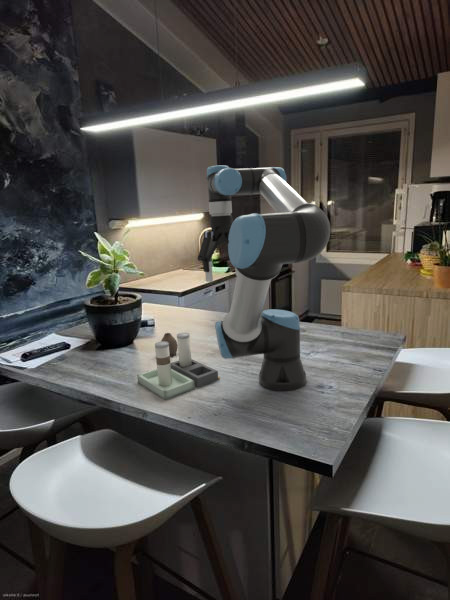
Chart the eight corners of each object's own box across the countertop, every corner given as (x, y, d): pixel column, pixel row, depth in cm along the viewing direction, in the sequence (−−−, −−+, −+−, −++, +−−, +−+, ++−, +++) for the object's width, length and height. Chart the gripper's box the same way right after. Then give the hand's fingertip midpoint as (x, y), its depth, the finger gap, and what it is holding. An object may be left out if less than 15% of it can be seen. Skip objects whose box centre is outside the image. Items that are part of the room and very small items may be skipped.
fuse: (194, 371, 144) (191, 334, 140) (184, 375, 141) (181, 337, 138) (187, 368, 147) (185, 331, 144) (177, 371, 144) (174, 334, 141)
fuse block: (219, 378, 136) (219, 370, 136) (198, 386, 131) (198, 378, 130) (190, 364, 150) (189, 357, 149) (169, 371, 145) (169, 363, 144)
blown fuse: (174, 383, 133) (171, 343, 130) (162, 387, 131) (159, 347, 128) (167, 379, 137) (164, 340, 134) (156, 383, 134) (152, 343, 131)
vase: (157, 356, 160) (155, 335, 158) (167, 350, 166) (165, 330, 164) (171, 358, 157) (169, 337, 155) (181, 352, 163) (179, 332, 161)
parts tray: (194, 388, 130) (194, 380, 130) (165, 399, 124) (164, 391, 123) (166, 372, 144) (165, 365, 144) (138, 382, 138) (137, 374, 137)
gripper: (240, 213, 145) (243, 272, 150) (183, 217, 129) (188, 283, 134) (255, 212, 140) (257, 273, 144) (198, 216, 124) (203, 285, 128)
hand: (224, 278), depth 139 cm, fingers open, 13 cm apart
